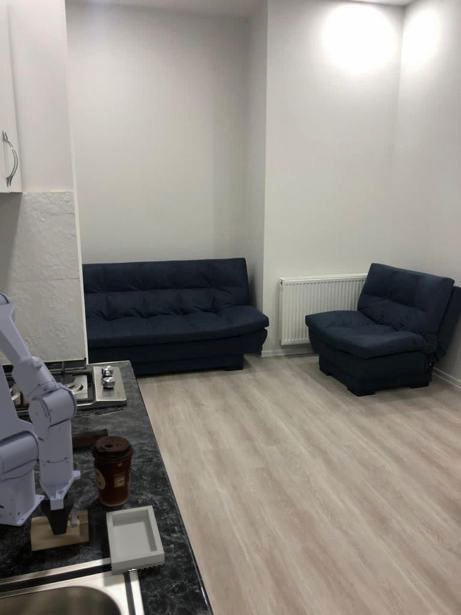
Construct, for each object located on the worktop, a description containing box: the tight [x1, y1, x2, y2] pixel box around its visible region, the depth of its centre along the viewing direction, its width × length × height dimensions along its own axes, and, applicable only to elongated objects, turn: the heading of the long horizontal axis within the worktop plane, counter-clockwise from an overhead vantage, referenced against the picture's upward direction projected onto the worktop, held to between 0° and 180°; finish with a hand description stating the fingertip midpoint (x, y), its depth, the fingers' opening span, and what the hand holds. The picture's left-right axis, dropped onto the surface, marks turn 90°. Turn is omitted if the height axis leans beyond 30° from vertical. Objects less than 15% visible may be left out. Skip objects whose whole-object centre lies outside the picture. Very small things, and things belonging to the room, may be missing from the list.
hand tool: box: [71, 428, 110, 449], centre depth 127 cm, size 19×4×5 cm, turn 108°
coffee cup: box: [90, 435, 134, 507], centre depth 106 cm, size 9×8×13 cm
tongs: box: [30, 508, 90, 552], centre depth 95 cm, size 10×4×4 cm, turn 107°
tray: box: [105, 505, 165, 576], centre depth 94 cm, size 14×9×2 cm, turn 17°
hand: (60, 519), depth 94 cm, fingers open, 7 cm apart
